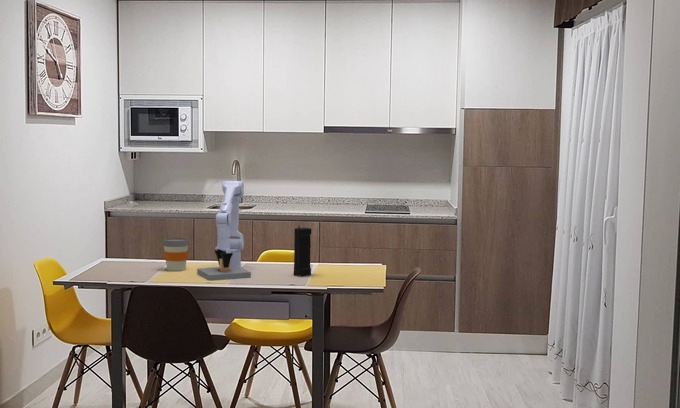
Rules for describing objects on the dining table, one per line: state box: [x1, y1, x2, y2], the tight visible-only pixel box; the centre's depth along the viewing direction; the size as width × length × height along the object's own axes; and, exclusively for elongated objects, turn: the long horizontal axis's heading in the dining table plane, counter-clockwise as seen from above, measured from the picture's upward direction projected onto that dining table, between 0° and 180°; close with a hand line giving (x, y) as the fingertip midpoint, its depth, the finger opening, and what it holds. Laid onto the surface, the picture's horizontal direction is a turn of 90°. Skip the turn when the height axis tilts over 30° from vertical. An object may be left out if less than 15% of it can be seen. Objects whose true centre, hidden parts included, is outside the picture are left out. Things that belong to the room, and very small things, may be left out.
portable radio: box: [293, 226, 312, 277], centre depth 382 cm, size 8×6×25 cm
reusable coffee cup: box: [162, 237, 190, 272], centre depth 396 cm, size 13×13×15 cm
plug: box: [219, 258, 230, 272], centre depth 380 cm, size 4×4×8 cm
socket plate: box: [196, 266, 252, 282], centre depth 380 cm, size 20×20×2 cm
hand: (223, 266), depth 380 cm, fingers open, 7 cm apart
